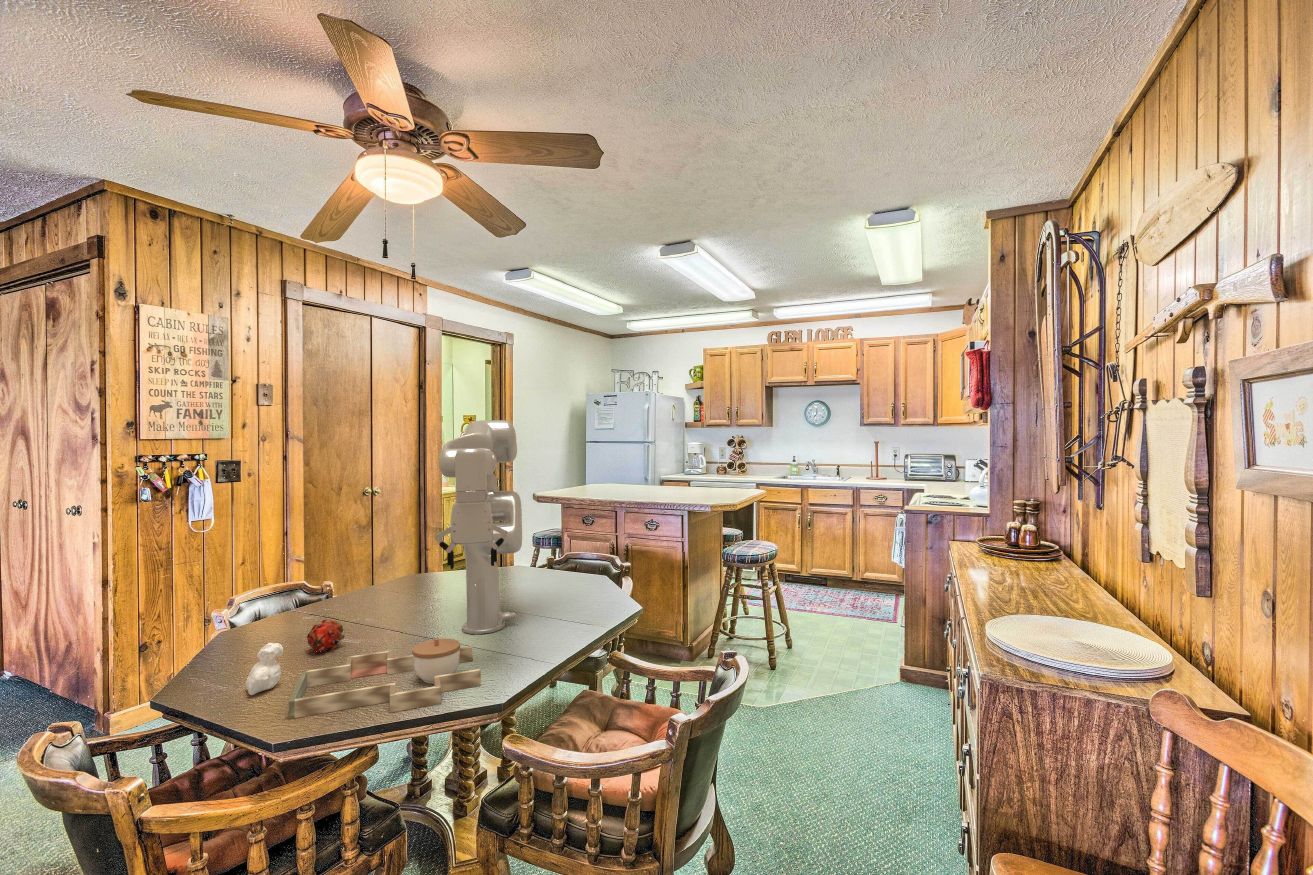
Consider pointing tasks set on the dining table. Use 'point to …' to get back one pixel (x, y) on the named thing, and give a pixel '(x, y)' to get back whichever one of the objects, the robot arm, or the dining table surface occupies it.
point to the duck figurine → (265, 669)
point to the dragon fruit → (325, 635)
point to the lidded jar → (436, 658)
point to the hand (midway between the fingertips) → (472, 566)
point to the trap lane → (375, 694)
